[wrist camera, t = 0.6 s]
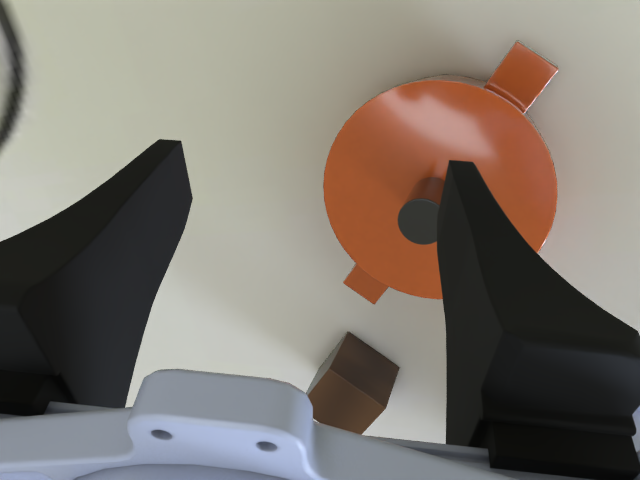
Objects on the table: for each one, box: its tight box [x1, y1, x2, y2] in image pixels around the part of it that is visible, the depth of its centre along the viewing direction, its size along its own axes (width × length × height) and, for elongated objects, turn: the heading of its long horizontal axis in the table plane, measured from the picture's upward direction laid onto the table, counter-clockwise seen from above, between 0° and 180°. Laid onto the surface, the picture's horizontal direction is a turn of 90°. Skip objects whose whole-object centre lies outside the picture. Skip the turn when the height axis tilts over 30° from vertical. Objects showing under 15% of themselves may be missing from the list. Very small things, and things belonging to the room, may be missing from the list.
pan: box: [343, 40, 559, 304], centre depth 32 cm, size 11×17×4 cm
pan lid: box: [323, 79, 557, 299], centre depth 29 cm, size 12×12×4 cm
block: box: [306, 332, 399, 434], centre depth 40 cm, size 4×4×4 cm
